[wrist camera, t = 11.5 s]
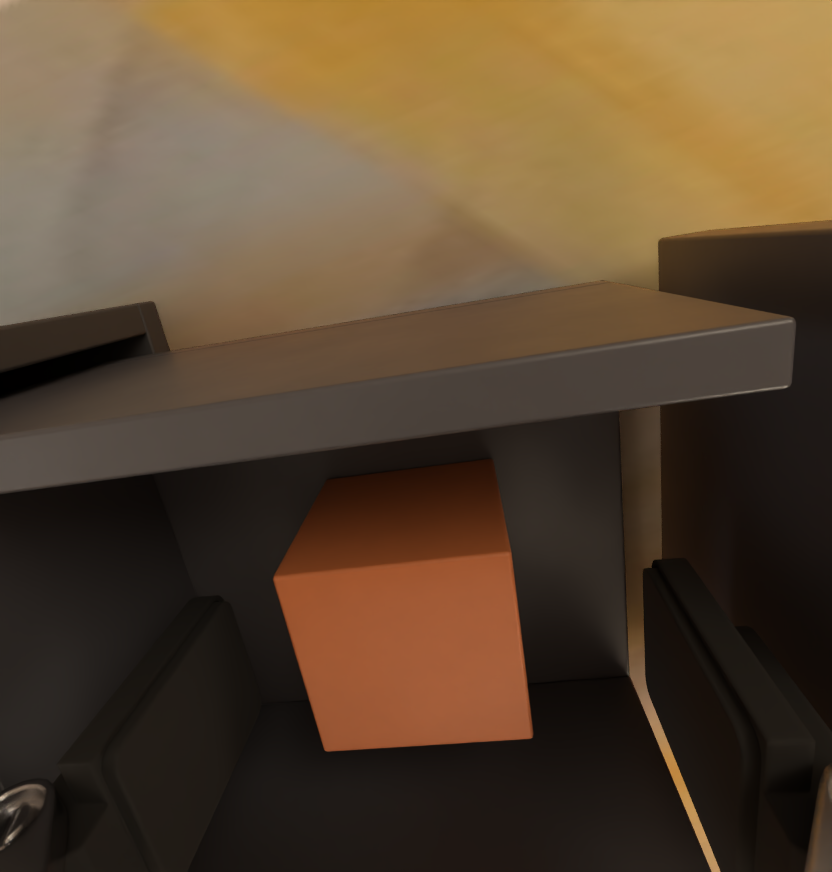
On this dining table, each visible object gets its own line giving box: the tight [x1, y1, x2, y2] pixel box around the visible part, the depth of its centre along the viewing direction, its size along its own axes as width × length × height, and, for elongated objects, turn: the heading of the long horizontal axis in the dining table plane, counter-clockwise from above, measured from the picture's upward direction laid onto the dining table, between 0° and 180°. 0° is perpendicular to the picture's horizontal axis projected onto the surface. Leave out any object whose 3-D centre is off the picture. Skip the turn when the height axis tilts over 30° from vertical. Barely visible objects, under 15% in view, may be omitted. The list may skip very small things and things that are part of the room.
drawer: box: [0, 220, 832, 872], centre depth 11 cm, size 20×13×8 cm
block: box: [273, 459, 533, 752], centre depth 12 cm, size 4×4×4 cm
